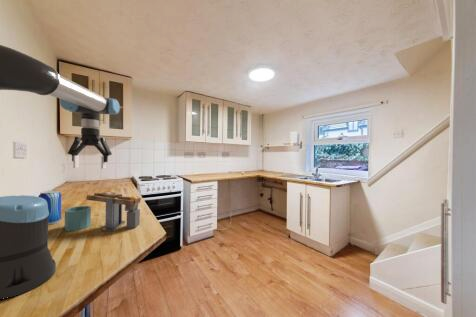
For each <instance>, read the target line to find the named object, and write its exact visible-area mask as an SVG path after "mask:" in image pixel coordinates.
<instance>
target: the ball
mask: <svg viewBox="0 0 476 317" xmlns="http://www.w3.org/2000/svg"><path fill="white" fill-rule="evenodd" d="M137 198H138V197H137V196H136V195H131V196H130V200H131V201H134V200H136V199H137Z"/></svg>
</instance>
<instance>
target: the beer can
mask: <svg viewBox="0 0 476 317" xmlns="http://www.w3.org/2000/svg"><path fill="white" fill-rule="evenodd" d="M37 197H41V198H43V199H45V200H46V201H47V204H48V211H49V215H48V226H51V225H56V224H57V223H60V221H61V220H62V194H61V193H60V191H59V190H46V191H45V190H43V191H41V192H40V194H39V195H38V196H37Z"/></svg>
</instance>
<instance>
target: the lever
mask: <svg viewBox="0 0 476 317" xmlns="http://www.w3.org/2000/svg"><path fill="white" fill-rule="evenodd" d="M130 197H131V196H130ZM130 197H129V196H124V195H122V196H117V195H116V192H115V191H114V192H113V191H103V192H94V193H93V195H92V194H87V195H86V199H85V200H87V201H94V202H101V203H106V198H114V203H115V204H122V206H123V205H124V212H128V211H131V212H133V211H135V210H136V209H139V204H141V197H137V199H136V200H134V201H131V200H130Z"/></svg>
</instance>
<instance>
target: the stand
mask: <svg viewBox="0 0 476 317" xmlns="http://www.w3.org/2000/svg"><path fill="white" fill-rule="evenodd" d="M115 195H117V196H123V194H119V193H118V194H116V193H115ZM125 223H126V221H125V220H123V205H122V204H115V203H114V198H106V202H105V223H104V224H105V227H103V228H102V229H101V232H114V231H115V230H116V229H118V228H119V227H121V226H122V225H123V224H125Z"/></svg>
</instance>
